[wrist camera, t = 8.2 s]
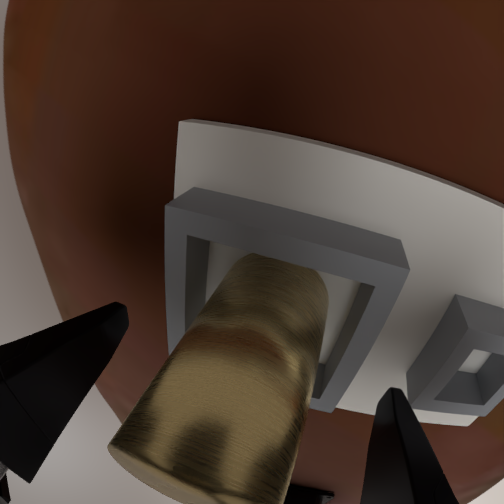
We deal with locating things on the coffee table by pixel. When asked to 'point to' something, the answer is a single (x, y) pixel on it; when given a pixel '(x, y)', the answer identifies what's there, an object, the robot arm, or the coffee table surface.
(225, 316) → the gold metallic cylinder
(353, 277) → the white socket board
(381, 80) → the coffee table surface
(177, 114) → the coffee table surface
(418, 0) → the coffee table surface
